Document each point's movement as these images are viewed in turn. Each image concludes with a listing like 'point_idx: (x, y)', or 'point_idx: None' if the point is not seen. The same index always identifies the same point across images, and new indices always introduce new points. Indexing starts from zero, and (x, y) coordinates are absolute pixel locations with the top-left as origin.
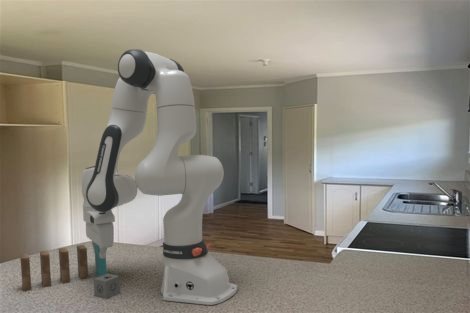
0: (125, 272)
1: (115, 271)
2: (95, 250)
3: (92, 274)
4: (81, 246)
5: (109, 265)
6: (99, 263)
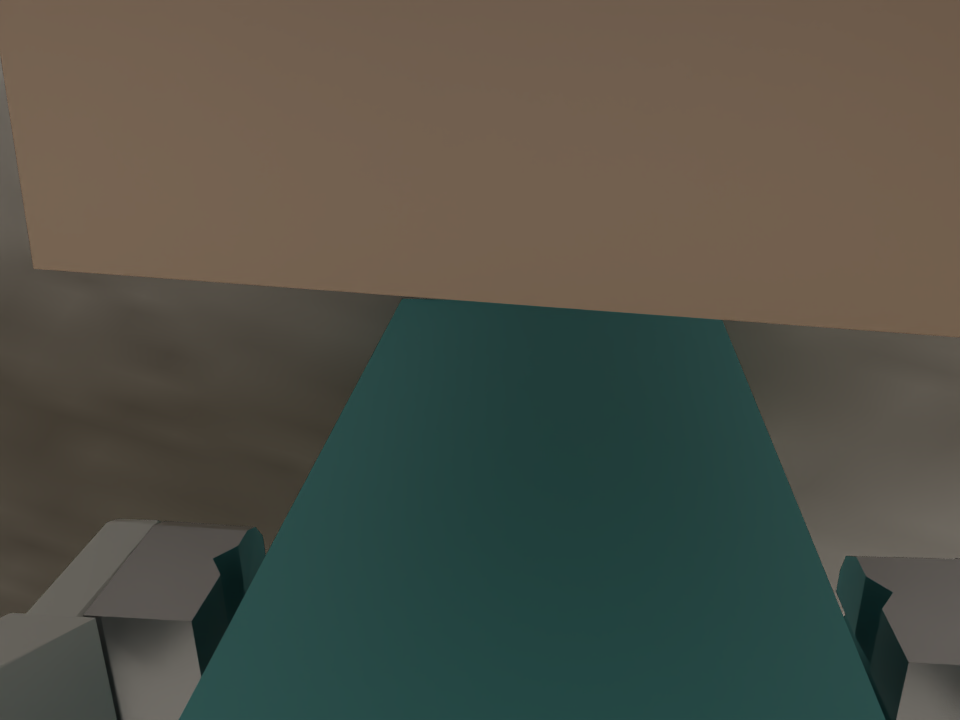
0: None
1: None
2: (724, 629)
3: None
4: (740, 54)
5: None
6: (342, 424)
